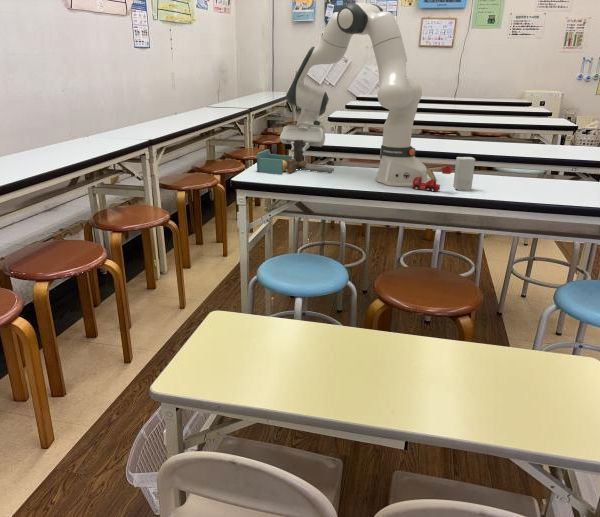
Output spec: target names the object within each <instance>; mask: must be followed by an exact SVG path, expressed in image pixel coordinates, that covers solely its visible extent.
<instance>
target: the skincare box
mask: <svg viewBox="0 0 600 517" xmlns="http://www.w3.org/2000/svg"><path fill="white" fill-rule="evenodd" d="M455 158H456V159H455V165H454V166H455V167H454V177H453V185H452V187H454V188H455V189H471V190H472V187H473V179H474V173H475V165H476V164H475V163H476V158H474V157H472V156H457V157H455ZM454 188H453V189H454ZM455 189H454V190H455Z"/></svg>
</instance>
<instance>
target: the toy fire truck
mask: <svg viewBox="0 0 600 517" xmlns="http://www.w3.org/2000/svg"><path fill="white" fill-rule="evenodd" d="M438 171H439V172H440V171H441V173H442V174H444V175H450V174H452V173H453V167H451V166H447V165H444V166H440V167H438V166H437V167H432V168H431V167H430V168H428V169H427V171H426V173H427V176H428V178H430V179H431V180H430V181H428V182H426V183H421V179H422V177H416V178H414V180H413V187H411V188H412V189H413V188H414V189H418V190H423V191H427V190H430V191H431V190H433V191H434V192H438V190H439V191H440V189H441V184H437V180H438V179H437V178H436V176H435V174H434V172H438Z"/></svg>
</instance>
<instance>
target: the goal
mask: <svg viewBox="0 0 600 517" xmlns="http://www.w3.org/2000/svg"><path fill="white" fill-rule="evenodd" d="M291 159H293V157H292V155H285V154H271V152H270V149H268V148H267V149H264V150H262V151H259V152H257V153H256V173H262V174H272V175H283V174H284V173H283V172H284V171H283V160H284V161H286V162H287V161H289V160H291Z"/></svg>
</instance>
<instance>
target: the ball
mask: <svg viewBox="0 0 600 517" xmlns="http://www.w3.org/2000/svg"><path fill="white" fill-rule="evenodd" d="M286 169H287V162H286V161H284V160H283V172H285V171H287V170H286Z"/></svg>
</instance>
